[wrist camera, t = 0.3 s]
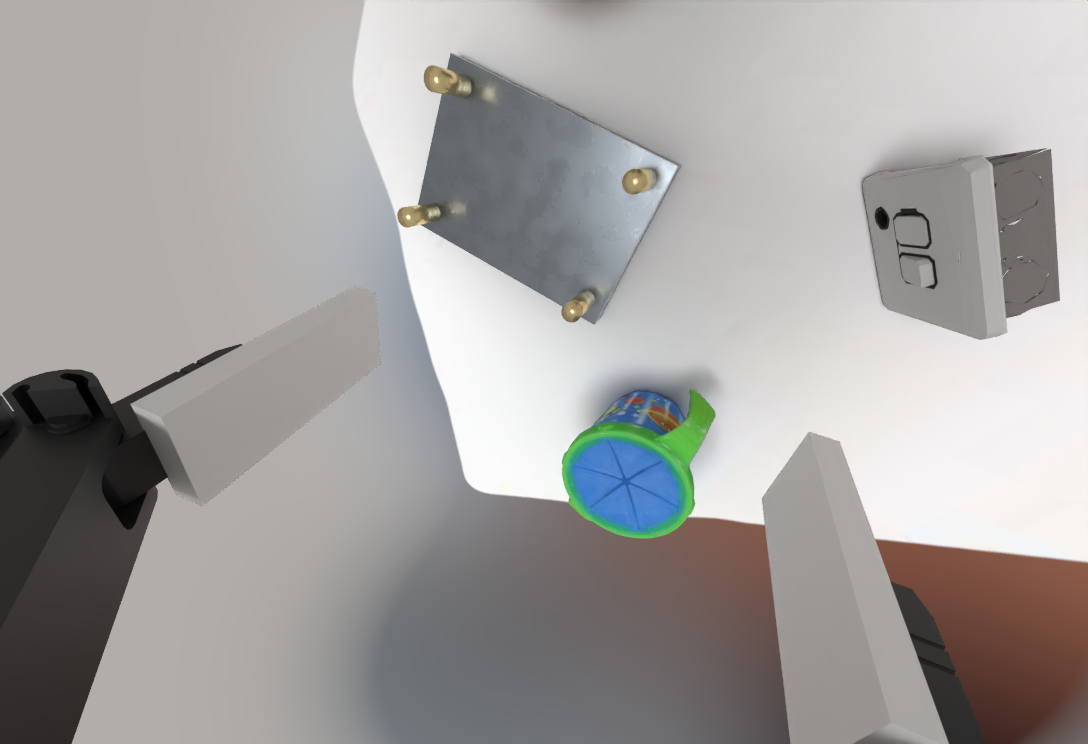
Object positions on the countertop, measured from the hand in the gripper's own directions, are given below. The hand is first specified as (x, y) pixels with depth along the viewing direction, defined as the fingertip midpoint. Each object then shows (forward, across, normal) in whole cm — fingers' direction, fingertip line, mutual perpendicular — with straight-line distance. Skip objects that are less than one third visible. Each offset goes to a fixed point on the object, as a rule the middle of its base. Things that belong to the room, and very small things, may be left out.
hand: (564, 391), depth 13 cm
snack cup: (+25, +5, -19) cm, 32 cm away
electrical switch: (+26, +17, +3) cm, 31 cm away
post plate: (+27, -10, -2) cm, 29 cm away
